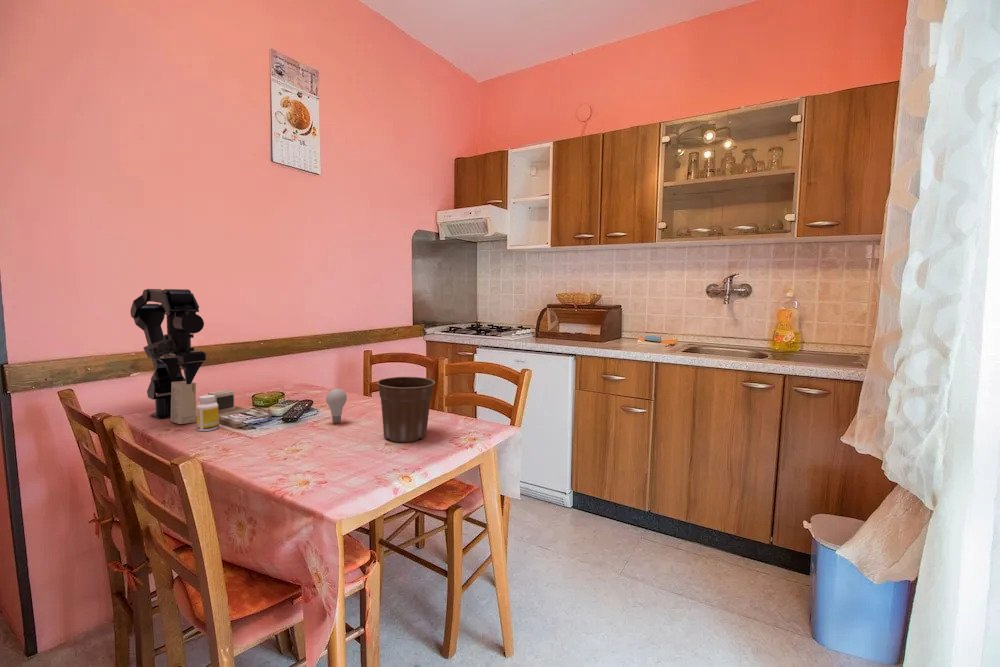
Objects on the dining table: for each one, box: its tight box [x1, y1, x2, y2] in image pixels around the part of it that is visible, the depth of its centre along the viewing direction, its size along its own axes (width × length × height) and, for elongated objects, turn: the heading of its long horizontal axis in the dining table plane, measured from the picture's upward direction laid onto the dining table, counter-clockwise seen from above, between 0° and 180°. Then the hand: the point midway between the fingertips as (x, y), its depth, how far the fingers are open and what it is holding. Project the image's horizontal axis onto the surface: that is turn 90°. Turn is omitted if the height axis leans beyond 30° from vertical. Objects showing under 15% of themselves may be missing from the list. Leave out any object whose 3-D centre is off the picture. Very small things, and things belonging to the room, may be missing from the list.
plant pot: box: [376, 376, 436, 443], centre depth 129 cm, size 16×16×16 cm
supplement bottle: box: [195, 394, 220, 432], centre depth 131 cm, size 5×5×10 cm
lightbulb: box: [325, 388, 348, 424], centre depth 139 cm, size 6×6×11 cm
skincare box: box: [170, 381, 197, 425], centre depth 136 cm, size 6×4×12 cm
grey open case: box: [207, 389, 272, 429], centre depth 142 cm, size 23×11×8 cm, turn 60°
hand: (180, 382), depth 135 cm, fingers open, 9 cm apart
